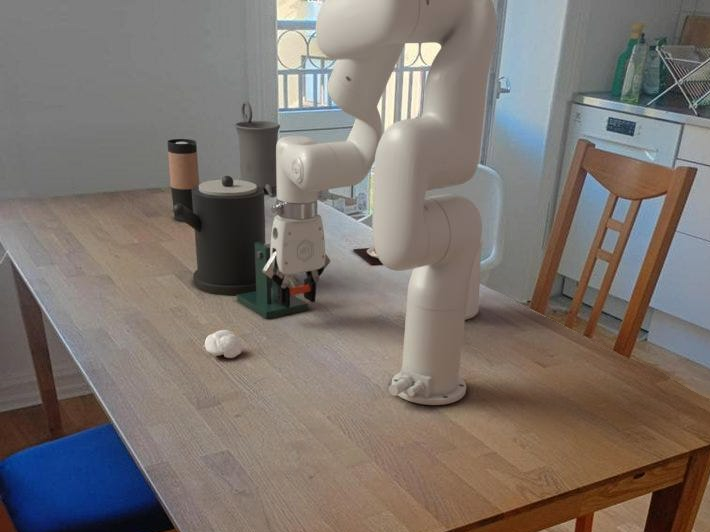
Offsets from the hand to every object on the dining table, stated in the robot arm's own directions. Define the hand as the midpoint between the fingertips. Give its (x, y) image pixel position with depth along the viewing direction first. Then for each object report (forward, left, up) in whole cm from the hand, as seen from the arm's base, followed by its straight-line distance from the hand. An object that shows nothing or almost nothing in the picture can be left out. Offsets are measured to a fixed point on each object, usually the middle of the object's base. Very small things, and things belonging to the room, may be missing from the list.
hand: (297, 301), depth 155 cm
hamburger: (+48, +11, -4) cm, 49 cm away
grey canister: (+78, +80, -4) cm, 112 cm away
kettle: (+7, +27, -4) cm, 28 cm away
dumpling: (-22, -1, -4) cm, 22 cm away
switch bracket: (+3, +9, -4) cm, 10 cm away
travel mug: (+39, +71, -4) cm, 81 cm away
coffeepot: (+24, -22, -4) cm, 33 cm away
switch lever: (+2, +5, +4) cm, 7 cm away
